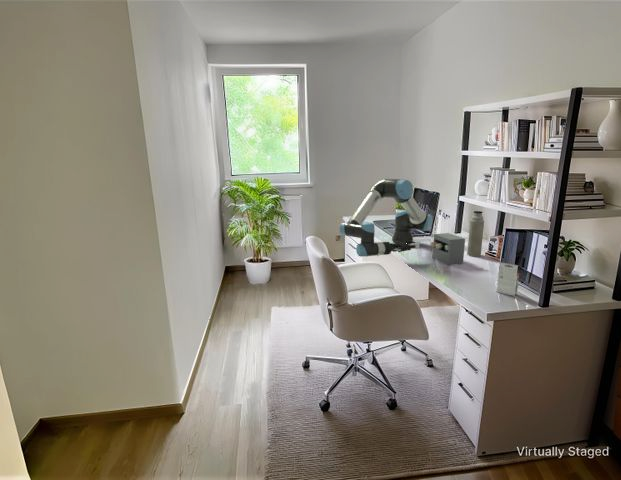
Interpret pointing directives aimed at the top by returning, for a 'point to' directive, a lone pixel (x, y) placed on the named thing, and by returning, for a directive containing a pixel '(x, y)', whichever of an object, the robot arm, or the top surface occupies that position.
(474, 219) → the thermos bottle
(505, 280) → the ink box
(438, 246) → the grey button
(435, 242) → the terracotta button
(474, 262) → the top surface
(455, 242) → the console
